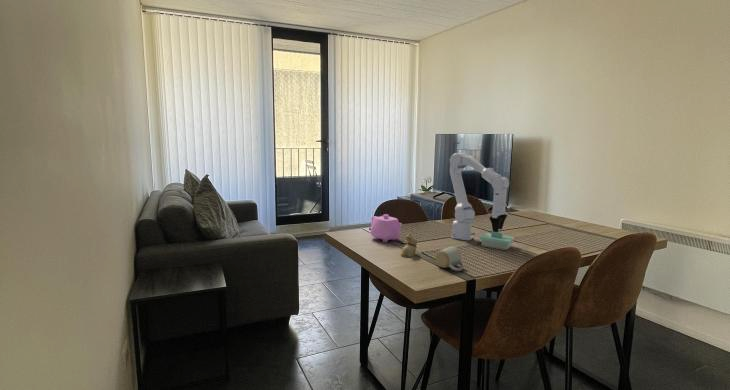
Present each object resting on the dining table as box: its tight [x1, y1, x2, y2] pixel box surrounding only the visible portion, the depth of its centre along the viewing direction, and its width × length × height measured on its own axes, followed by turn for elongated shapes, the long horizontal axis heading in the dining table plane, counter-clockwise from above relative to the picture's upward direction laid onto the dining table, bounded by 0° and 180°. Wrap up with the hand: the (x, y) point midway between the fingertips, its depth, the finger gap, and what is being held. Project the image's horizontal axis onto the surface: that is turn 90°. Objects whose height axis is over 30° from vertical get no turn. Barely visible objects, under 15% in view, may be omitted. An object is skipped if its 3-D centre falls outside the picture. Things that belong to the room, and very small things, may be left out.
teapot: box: [370, 213, 403, 243], centre depth 196 cm, size 20×12×13 cm, turn 43°
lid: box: [479, 230, 515, 244], centre depth 189 cm, size 14×10×4 cm
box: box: [480, 240, 512, 251], centre depth 189 cm, size 12×8×4 cm, turn 57°
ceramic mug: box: [435, 246, 464, 272], centre depth 156 cm, size 11×8×8 cm
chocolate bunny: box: [400, 232, 418, 257], centre depth 172 cm, size 6×8×10 cm
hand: (497, 230), depth 188 cm, fingers open, 7 cm apart
